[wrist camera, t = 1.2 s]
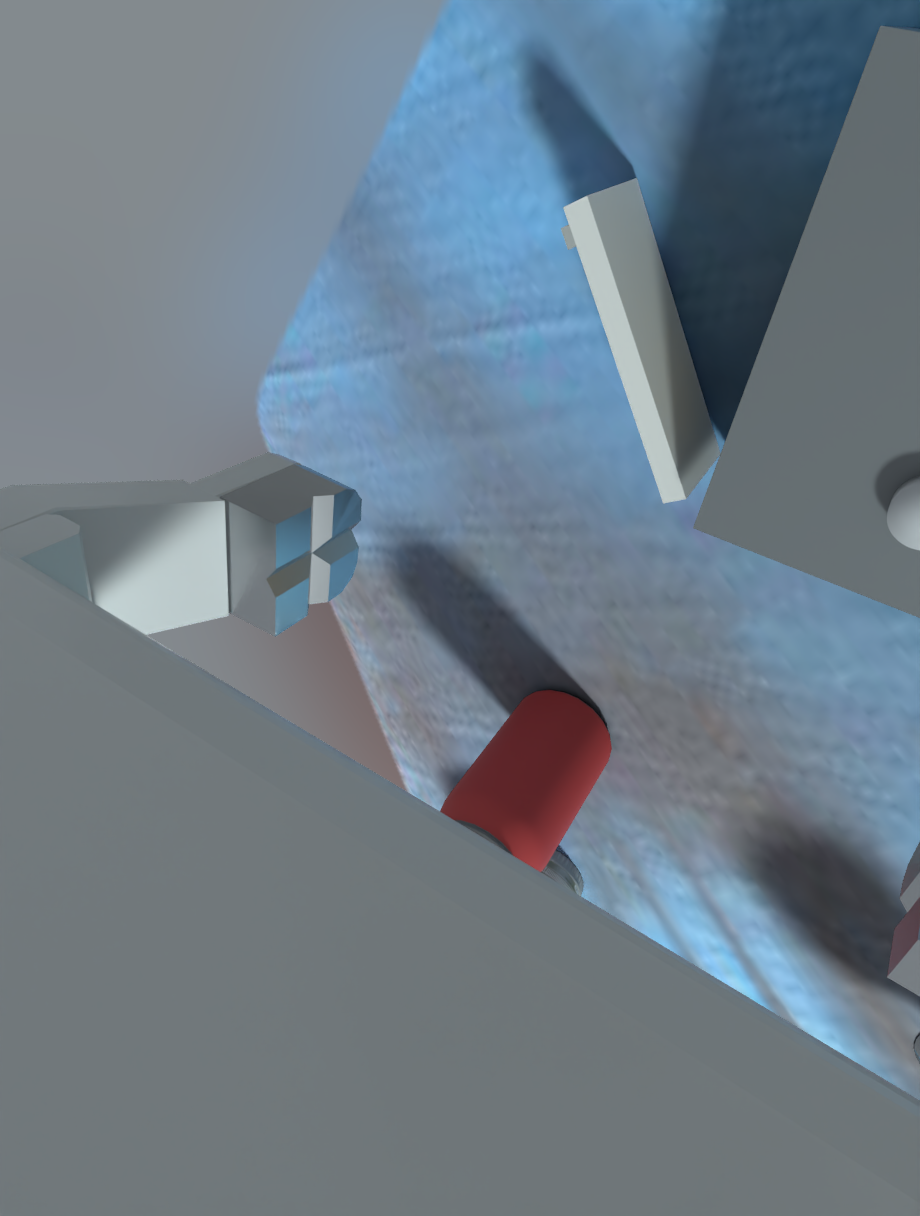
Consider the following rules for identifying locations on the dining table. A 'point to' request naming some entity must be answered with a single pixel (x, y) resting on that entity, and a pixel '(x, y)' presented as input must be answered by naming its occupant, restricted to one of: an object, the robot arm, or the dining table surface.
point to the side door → (644, 334)
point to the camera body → (842, 365)
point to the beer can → (533, 776)
